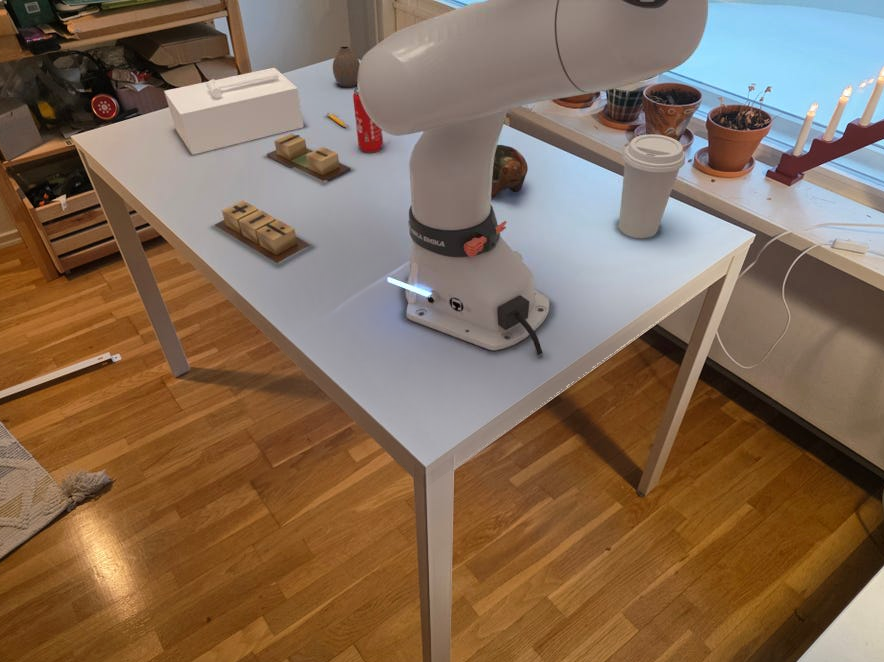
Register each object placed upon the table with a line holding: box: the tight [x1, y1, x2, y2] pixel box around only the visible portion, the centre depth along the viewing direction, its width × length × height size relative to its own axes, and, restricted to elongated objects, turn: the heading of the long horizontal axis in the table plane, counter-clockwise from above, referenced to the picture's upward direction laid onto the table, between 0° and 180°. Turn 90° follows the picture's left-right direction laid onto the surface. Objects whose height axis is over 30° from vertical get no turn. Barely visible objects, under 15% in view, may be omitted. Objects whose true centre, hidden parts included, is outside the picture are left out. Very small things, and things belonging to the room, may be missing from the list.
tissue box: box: [163, 67, 304, 156], centre depth 141 cm, size 14×25×11 cm, turn 120°
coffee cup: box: [618, 133, 686, 239], centre depth 106 cm, size 10×10×15 cm
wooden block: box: [257, 219, 297, 255], centre depth 108 cm, size 5×4×3 cm
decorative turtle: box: [491, 144, 529, 199], centre depth 120 cm, size 10×15×8 cm, turn 22°
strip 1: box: [214, 199, 311, 264], centre depth 111 cm, size 18×7×4 cm, turn 48°
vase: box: [332, 45, 360, 88], centre depth 159 cm, size 7×7×9 cm
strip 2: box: [266, 132, 351, 182], centre depth 131 cm, size 18×7×4 cm, turn 48°
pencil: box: [326, 112, 347, 128], centre depth 145 cm, size 1×8×1 cm, turn 34°
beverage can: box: [352, 87, 384, 154], centre depth 132 cm, size 5×5×12 cm
